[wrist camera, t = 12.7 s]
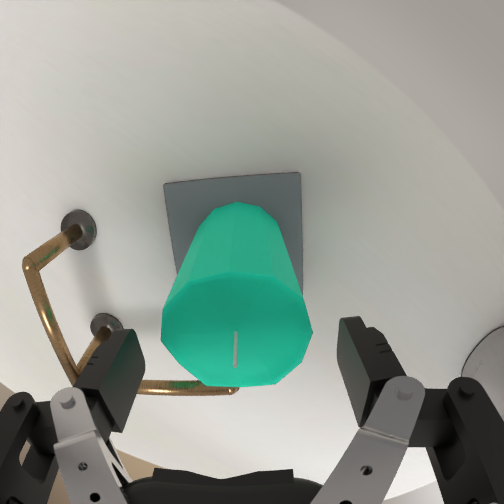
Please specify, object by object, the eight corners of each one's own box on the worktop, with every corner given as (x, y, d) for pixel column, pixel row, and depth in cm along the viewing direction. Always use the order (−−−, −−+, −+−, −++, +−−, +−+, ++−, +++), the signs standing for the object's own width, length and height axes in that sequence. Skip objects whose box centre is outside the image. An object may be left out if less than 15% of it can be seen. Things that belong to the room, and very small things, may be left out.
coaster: (298, 172, 20) (300, 173, 20) (301, 292, 24) (302, 295, 23) (165, 183, 20) (163, 184, 20) (184, 300, 24) (182, 304, 23)
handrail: (239, 190, 21) (237, 221, 14) (252, 338, 25) (255, 406, 18) (61, 212, 21) (2, 247, 14) (98, 341, 25) (66, 398, 18)
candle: (191, 204, 20) (132, 293, 9) (282, 199, 20) (327, 284, 9) (200, 285, 23) (169, 417, 11) (283, 281, 23) (314, 412, 11)
